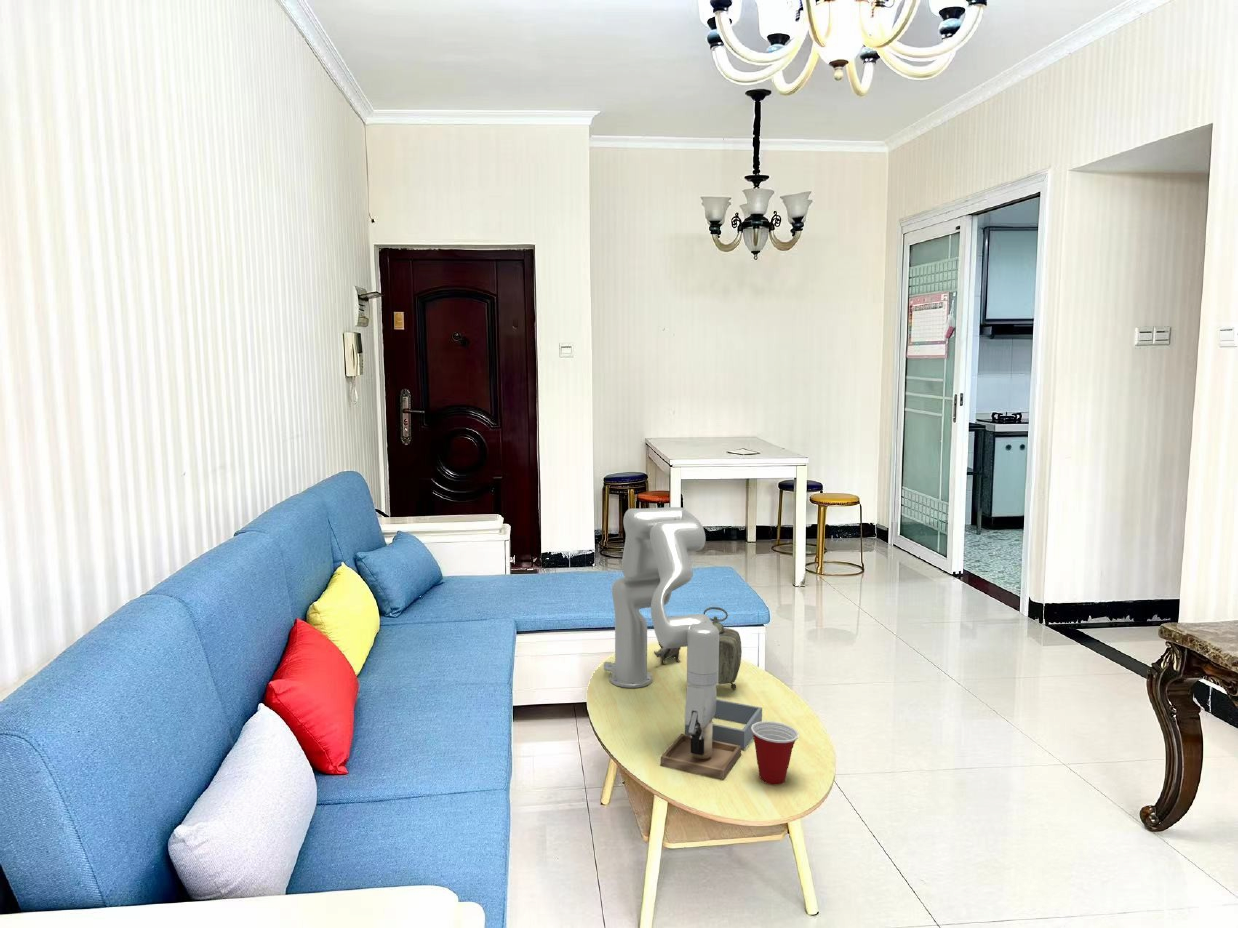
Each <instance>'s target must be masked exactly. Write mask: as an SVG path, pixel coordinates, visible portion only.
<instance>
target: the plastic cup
mask: <svg viewBox="0 0 1238 928" xmlns="http://www.w3.org/2000/svg"><path fill="white" fill-rule="evenodd" d="M751 731H752V732H753V741H754V749H755V756H756V762H757V768H758V774H759V778H760V781H762V782H763V783H765V784H768V785H773V786H775V785H781V784H783V783H784V782H786V781H785V780H786V779H787V774H788V769H789V766H790V762H791V761H790V760H791V756H792V751H793V748H794V745H795V742H796V741H797V739H798V738H799V735H800V733H799V732H798V730H797V729H795V728H794V727H793V726H790V725H788V724H785V723H783V722H779V721H772V720H769V721H768V720H762V722H756V723H755V724H753V725H752V727H751Z"/></svg>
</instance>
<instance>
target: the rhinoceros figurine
mask: <svg viewBox="0 0 1238 928" xmlns="http://www.w3.org/2000/svg"><path fill="white" fill-rule="evenodd" d="M657 643H658V646H659V647H660V648H659V650H658V651H657V652H656V651H655V650H654V651H653V653H654V654H655V656H656V658H661V659H660V660H661V661H660V665H661V666H666V664H665V663H664V662H665V660H666V659H668V658H674V657H675V658H674V660H675V661H676V662H677V663H681V660H680V658H679V657H680V650H681V648H682V647H677V648H665V647H663V646H661V645H660V643H659V642H658V641H657Z"/></svg>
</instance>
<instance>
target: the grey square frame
mask: <svg viewBox="0 0 1238 928" xmlns="http://www.w3.org/2000/svg"><path fill="white" fill-rule="evenodd" d="M717 718H718V719H719V720H723V721H727V722H728V721H729V722H733V723H740V724H743V725H744V727H743V728H742V729H741V728H736V727H731V726H726V725H720V724H716V723H713V726H712V740H714V741H719V742H724V743H729V744H734V745H739V746H741V752H742V751H743V752H744V751H745V750H747V747H749V745H750V743H751V742H752V740H754V737H753V732H752V731H751V727H752V725H753V724H755V723H756V722H762V721H763V707H760V706H755V705H749V704H744V703H739V702H734V701H733V702H732V701H728V700H723V699H717V702H716V713H715V715H714V717H713V719H717ZM689 727H690V724H689V725H685V724H684V734H686V735H690V733H689Z"/></svg>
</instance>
